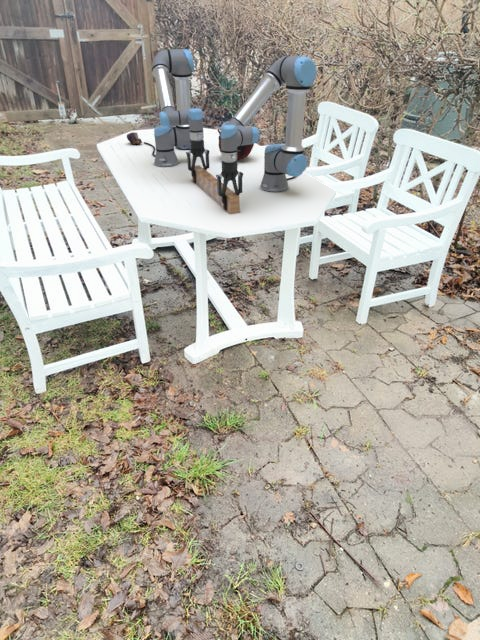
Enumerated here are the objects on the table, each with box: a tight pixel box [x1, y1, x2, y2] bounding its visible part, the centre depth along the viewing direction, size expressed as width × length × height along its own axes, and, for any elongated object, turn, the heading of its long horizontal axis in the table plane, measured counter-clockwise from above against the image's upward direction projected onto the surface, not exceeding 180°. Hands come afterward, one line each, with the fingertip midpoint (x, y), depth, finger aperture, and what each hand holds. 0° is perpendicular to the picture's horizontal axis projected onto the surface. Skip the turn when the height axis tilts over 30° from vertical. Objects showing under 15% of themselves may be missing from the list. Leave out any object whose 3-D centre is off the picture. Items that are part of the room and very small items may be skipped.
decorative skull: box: [217, 129, 255, 162], centre depth 297 cm, size 21×24×25 cm
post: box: [191, 165, 241, 214], centre depth 242 cm, size 59×5×8 cm, turn 23°
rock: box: [126, 132, 143, 145], centre depth 336 cm, size 12×9×10 cm
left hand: (199, 181), depth 262 cm, fingers closed on post, 5 cm apart
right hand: (230, 207), depth 226 cm, fingers closed on post, 5 cm apart
